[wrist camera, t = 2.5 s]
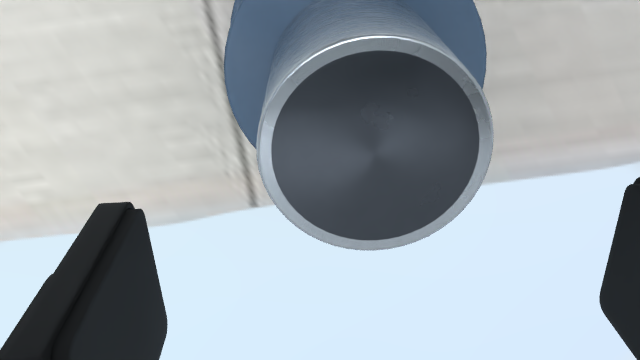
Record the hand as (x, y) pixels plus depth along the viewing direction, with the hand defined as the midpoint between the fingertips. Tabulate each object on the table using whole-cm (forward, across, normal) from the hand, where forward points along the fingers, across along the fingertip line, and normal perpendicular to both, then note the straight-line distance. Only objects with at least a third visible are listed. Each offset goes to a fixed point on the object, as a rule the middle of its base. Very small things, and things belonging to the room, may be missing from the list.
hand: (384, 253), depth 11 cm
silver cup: (+12, 0, 0) cm, 12 cm away
